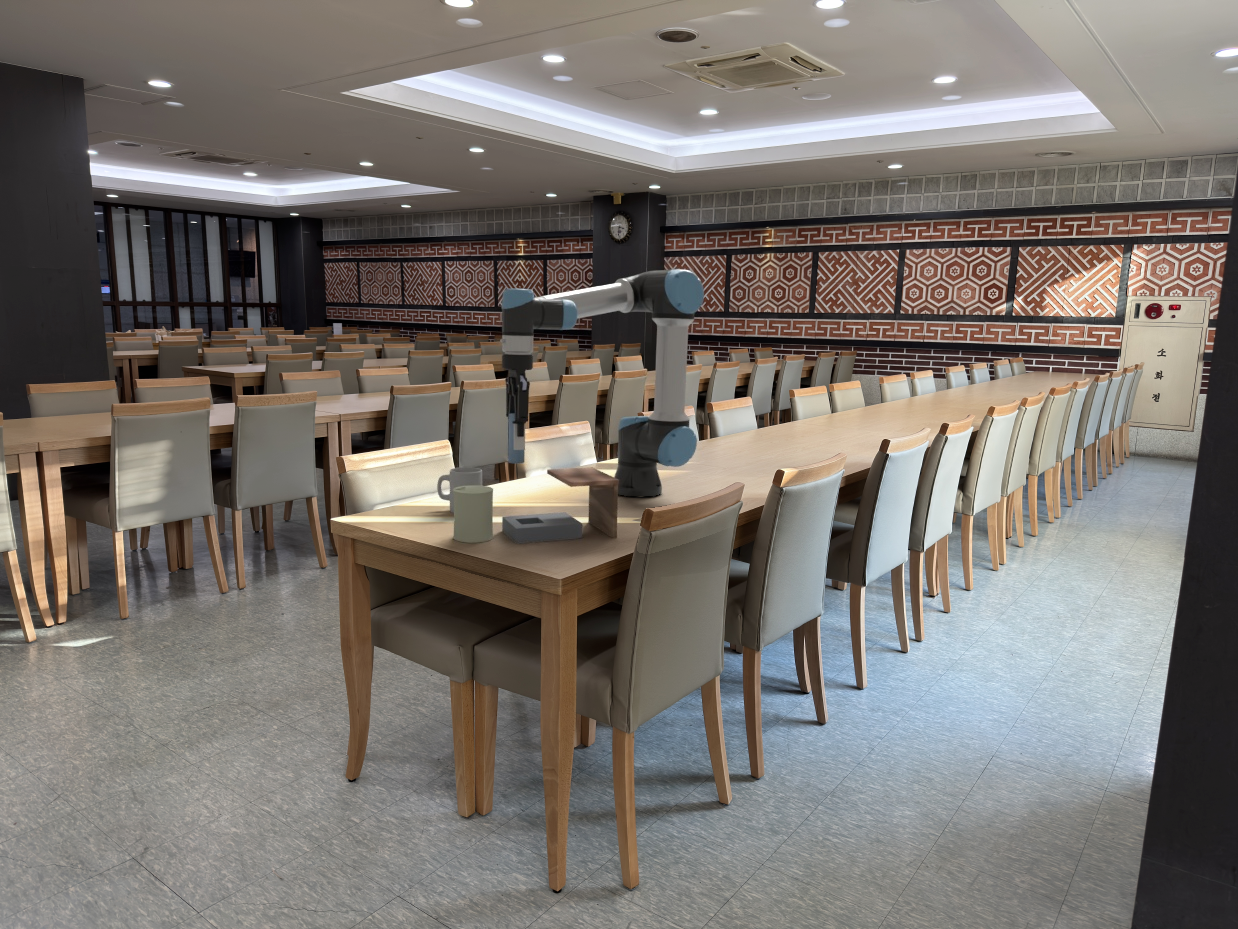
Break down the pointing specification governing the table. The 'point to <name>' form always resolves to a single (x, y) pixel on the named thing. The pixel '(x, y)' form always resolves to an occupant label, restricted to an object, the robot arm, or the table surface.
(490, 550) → the table surface
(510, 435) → the peg
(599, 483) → the wooden l-bracket
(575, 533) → the socket
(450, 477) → the mug
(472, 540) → the can
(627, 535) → the table surface
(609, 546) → the table surface
